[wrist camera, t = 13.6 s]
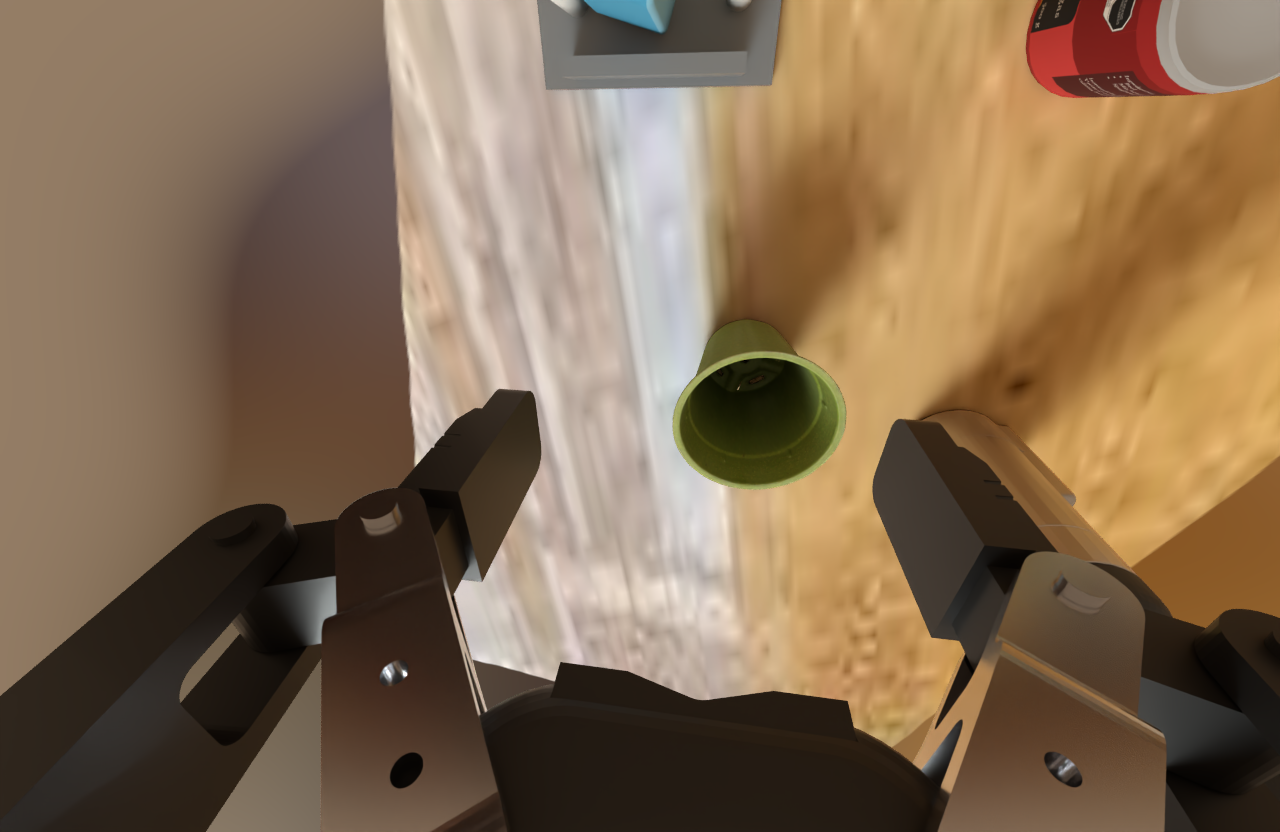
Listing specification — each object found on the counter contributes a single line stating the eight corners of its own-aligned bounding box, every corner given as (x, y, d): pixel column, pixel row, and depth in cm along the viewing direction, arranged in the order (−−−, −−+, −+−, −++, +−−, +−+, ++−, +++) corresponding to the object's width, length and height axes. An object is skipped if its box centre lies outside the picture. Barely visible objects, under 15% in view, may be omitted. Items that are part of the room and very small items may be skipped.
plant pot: (654, 372, 44) (641, 444, 35) (731, 265, 38) (741, 316, 28) (754, 432, 46) (769, 514, 37) (842, 340, 40) (886, 410, 31)
